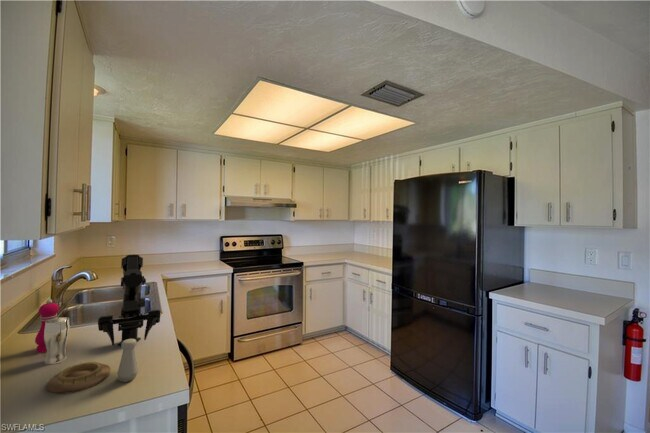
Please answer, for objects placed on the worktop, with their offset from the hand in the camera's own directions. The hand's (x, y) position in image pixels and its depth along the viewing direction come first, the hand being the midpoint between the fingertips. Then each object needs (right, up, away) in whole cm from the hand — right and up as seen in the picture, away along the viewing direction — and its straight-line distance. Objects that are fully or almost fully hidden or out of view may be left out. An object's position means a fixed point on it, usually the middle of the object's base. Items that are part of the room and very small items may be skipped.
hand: (129, 342), depth 101 cm
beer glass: (-32, -10, +7) cm, 34 cm away
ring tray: (-13, -10, -5) cm, 17 cm away
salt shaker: (+2, -11, -3) cm, 12 cm away
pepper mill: (-43, -10, +15) cm, 47 cm away
